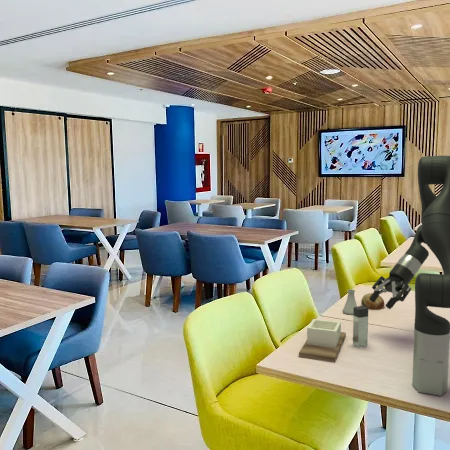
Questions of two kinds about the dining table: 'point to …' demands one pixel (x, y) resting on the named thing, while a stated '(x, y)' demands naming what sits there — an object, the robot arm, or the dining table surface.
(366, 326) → the grey tall bar
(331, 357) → the serving board
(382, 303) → the bread roll
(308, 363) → the dining table surface
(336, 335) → the pale open square box
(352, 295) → the flask
